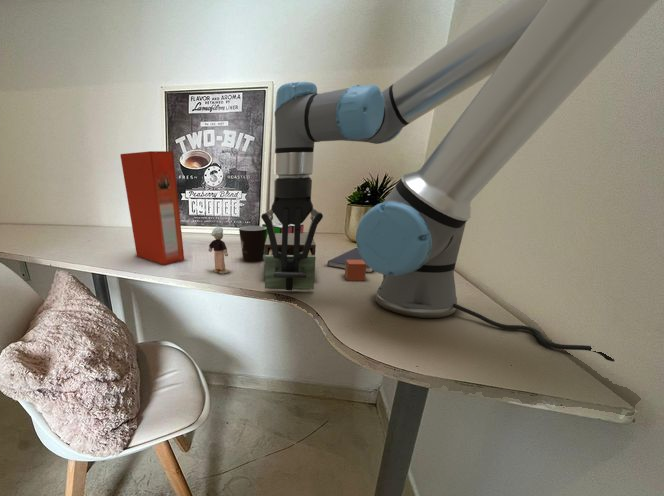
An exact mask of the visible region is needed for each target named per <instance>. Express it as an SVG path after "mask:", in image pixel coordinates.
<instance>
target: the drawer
mask: <svg viewBox="0 0 664 496" xmlns="http://www.w3.org/2000/svg"><path fill="white" fill-rule="evenodd" d="M278 250H279V252H281V253H282V248H278ZM302 250H303V248H300V250H299V253H300V252H302ZM293 255H294V248H287V259H293ZM316 258H317V256H316V254H315V255H312V254H311V251H310V250H309V254H308V257H307V258H306V259H301V260H300V261H299V270H298V272H289V271H281V260H280V259H277V258H274V257H273V253H272V248H270V251H269V255H265V254H264V289H278V290H280V289H281V290H282V289H283V290H286V278H293V289H292V290H314V287H315V273H316Z"/></svg>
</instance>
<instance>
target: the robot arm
mask: <svg viewBox="0 0 664 496" xmlns="http://www.w3.org/2000/svg"><path fill="white" fill-rule="evenodd" d="M658 1H659V0H508V1H506V2H504V4H502V5H500V6H499V7H498V8H496V9H494V11H492V12H491V13H489V14H488V15H486V16H485V17H484V18H482V19H481V20H480V21H478V22H477V23H476V24H474V25H473V26H471V27H470V28H468V29H467V30H465V32H463V33H461V34H460V35H459V36H457V37H456V38H454V39H453V40H451V42H449V43H448V44H446V45H445V46H443V47H442V48H441V49H439V50H438V51H436V52H435V53H433V54H432V55H431V56H430V57H428V58H427V59H425V60H424V61H422V62H421V63H420V64H418V65H416V67H414V68H413V69H412V70H409V72H407V73H405V74H404V75H403V76H402V77H400V78H399V79H398V80H396V81H395V82H394V83H392V84H391V85H389V86H388V87H386V88H385V89H384V90H382V91H381V88H380V87H379V86H378V85H376V84H365V85H359V84H357V85H353V86H350V87H347V88H342V89H336V90H332V91H326V92H322V93H318V87H317V85H316V84H315V83H313V82H310V81H297V82H288V83H283V84H282V85H280V86H279V87H278V89H277V91H276V94H275V95H276V97H275V108H274V109H275V110H274V127H275V128H274V134H275V135H274V136H275V137H274V138H275V139H274V141H275V146H274V147H275V148H274V167H273V168H274V174H273V175H275V176H277V177H276V178H275V180H274V183H273V202H272V205H271V208H270V209H268V210H267V211H264V212H263V213H262V214H261V219H262V222H263V224H266V227H267V231H268V235H269V240H270V244H271V248H272V253H273V257H274V258H277V259H280V260H281V271H289V272H298V270H299V261H300V260H301V259H306V258H307V257H308V254H309V250H310V247H311V244H312V241H313V239H314V237H315V234H316V230H317V227H318V225H319V224H320V223H321V221H322V220H323V218H324V215H323V213H322V211H318V210H316V209H315V208H314V204H313V202H312V189H313V188H312V187H313V179H312V178H311V177H310V176H311V175H312V174H313V170H314V155H315V152H314V151H315V143H321V142H335V141H338V142H339V141H344V142H345V141H346V142H360V143H369V144H374V145H377V144H378V145H379V144H383V143H388V142H390V141H393V140H394V139H395V138H396V137H398V135H399V134H400V133H401V132H402V130H403V128H405V127H406V126H408V125H409V124H411V123H413V122H414V121H416V120H418V119H420V118H421V117H422V116H425V115H426V114H428V113H429V112H431V111H433V110H434V109H437V108H438V107H440V106H441V105H443V104H444V103H446V102H448V101H449V100H451V99H453V98H454V97H457V96H458V95H459V94H461V93H463V92H464V91H466V90H468V89H469V88H471V87H473V86H474V85H476V84H478V83H480V82H481V81H483V80H484V79H487V78H488V77H489V78H488V79H487V80H486V82H485V83H484V84H483V85H482V87H481V88H480V90H478V93H476V95H474V98H473V99H472V100H471V102H469V104H468V105H467V106H466V108H465V109H464V111H463V112H462V113H461V114H460V116H459V118H457V120H456V121H455V123H453V125H452V127H451V128H450V129H449V131H448V132H447V133H446V134H445V136H444V137H443V138H442V140H441V141H440V142H439V144H438V145H437V147H436V148H435V149H434V150H433V152H432V153H431V154H430V156H429V157H428V158H427V160H426V161H425V162H424V164H423V165H422V166H421V168H420V169H418V170H416V171H411V172H408V173H404V174H403V175H402V177H400V179H399V180H398V181H397V183H396V185H395V186H394V187H393V189H392V190H391V191H390V193H389V194H388V195H387V196H386V198H385V199H384V200H383V202H380V203H377V204H376V205H374V206H373V207H371V208H370V209H368V211H367V212H365V214H363V216H362V217H361V219H360V221H359V223H358V225H357V228H356V232H355V242H356V248H357V249H358V252H359V254H360V256H361V258H362V260H363V261H364V262H365V263H366V265H367V266H369V267H370V268H371V269H372V270H374V271H373V272H375V273H378V274H380V275H382V276H383V277H382V278H383V279H382V280H381V282H380V285H379V286H378V288H377V290H376V294H375V302H376V303H377V304H378V306H380V307H382V308H384V309H385V310H387V311H389V312H393V313H395V314H399V315H402V316H403V315H404V316H407V317H413V318H421V319H436V318H437V319H439V318H444V317H447V316H448V317H449V316H451V315H452V314H454V313H455V312H456V310H459V311H461V312H463V313H466V314H468V315H471V316H472V317H475V318H477V319H479V320H481V321H483V322H485V323H487V324H489V325H492V326H494V327H497V328H500V329H504V330H523V331H528V332H530V333H532V334H534V336H535V338H537V340H538V341H539V343H541V344H543V345H544V346H547V347H550V348H553V349H558V350H567V351H568V350H569V351H588V352H593V353H596V354H598V355H599V356H602V357H603V358H604V359H605V360H606V361H609V362H615V361H616V360H615V358H613V359H612V358H611V357H609V356H607V355H606V354H604V353H602V352H596V351H591V349H592V348H591V345H584V344H560V343H556V342H552V341H550V340H547V339H546V338H545V337H544V336H543V334H542V333H541V332H540V331H539V330H538V329H536V328H534V327H531V326H527V325H521V324H505V323H500V322H497V321H495V320H493V319H490V318H488V317H486V316H484V315H483V314H481V313H478V312H475V311H473V310H471V309H469V308H466V307H464V306H461V305H460V304H458V298H457V290H456V289H457V288H456V281H455V268H456V265H457V260H458V256H459V252H460V248H461V244H462V240H463V236H464V232H465V228H466V223H467V222H468V221H469V220H470V218H471V216H472V215H471V204H472V201H473V200H474V199H475V198H476V197H477V195H479V193H481V192H482V191H483V189H484V188H485V187H486V186H487V185H488V184H489V183H490V181H492V179H493V178H494V177H495V176H496V175H497V174H498V173H499V172H500V171H501V170H502V169H503V168H504V166H505V165H507V163H509V161H510V160H511V159H512V158H513V157H514V156H515V155H516V154H517V153H518V151H519V150H521V148H522V147H523V146H524V145H525V144H526V143H527V142H528V141H529V140H530V139H531V138H532V137H533V135H535V133H537V131H538V130H539V129H540V128H541V127H542V126H543V125H544V124H545V123H546V122H547V121H548V119H549V118H550V117H551V116H552V115H553V114H554V113H555V112H556V111H557V110H558V109H559V108H560V106H561V105H562V104H563V103H565V101H566V100H567V99H568V98H569V97H570V96H571V95H572V93H574V92H575V90H576V89H578V87H579V86H580V85H581V84H582V83H583V81H584V80H586V79H587V77H588V76H589V75H590V74H592V72H593V71H594V70H595V69H596V68H597V67H598V66H599V64H600V63H601V62H602V61H603V60H604V59H606V57H607V56H608V55H609V54H610V53H611V52H612V51H613V50H614V49H615V47H616V46H617V45H618V44H619V43H620V42H621V41H622V40H623V39H624V38H625V37H626V36H627V34H629V32H630V31H631V30H632V29H633V28H634V27H635V26H636V25H637V24H638V23H639V21H641V19H643V17H644V16H645V15H646V14H647V13H648V12H649V11H650V10H651V9H652V7H654V6H655V4H656V3H657V2H658ZM309 215H310V217H309V218H310V220H311V221H310V223H309V227H308V230H307V233H308V234H307V237H306V240H305V244H304V247H303V250H302V252H300V253H299V250H300V229H301V224H303V223H304V221H305V220H306V219H307V218H308V216H309ZM274 216H275V217H276V218H277V221H278V222H281V223H282V253H281V252H279V250H278V245H277V241H276V236H275V232H274V227H273V223H274V222H273V219H274ZM290 224H293V225H295V227H294V255H293V259H287V246H288V225H290ZM293 290H294V289H293V278H286V289H285V291H293Z"/></svg>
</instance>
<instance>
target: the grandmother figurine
mask: <svg viewBox="0 0 664 496" xmlns="http://www.w3.org/2000/svg"><path fill="white" fill-rule="evenodd" d="M223 233H224V229H223V227H221V226H215V227H214V228H213V230H212V231H211V234H210V235H211V236H212V237H214V240H212V241H211V242H210V244H209V245H208V252H210V253H212V252H214V256H213V257H214V259H213V260H214V270H213V273H218V274H220V275H225V274H229V270H228V269H226V263H225V257H228V256H229V253H228V247H227V245H226V243H225V241H223V240H222V239H223V237H224V234H223Z"/></svg>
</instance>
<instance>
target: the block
mask: <svg viewBox="0 0 664 496" xmlns="http://www.w3.org/2000/svg"><path fill="white" fill-rule="evenodd" d="M366 266H367V265H366V263H365V262H364V261H363V260H346V266H345V269H344V278H345V279H346V281H357V282H359V281H361V282H363V281H365V279H366V274H367V273H366Z"/></svg>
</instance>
